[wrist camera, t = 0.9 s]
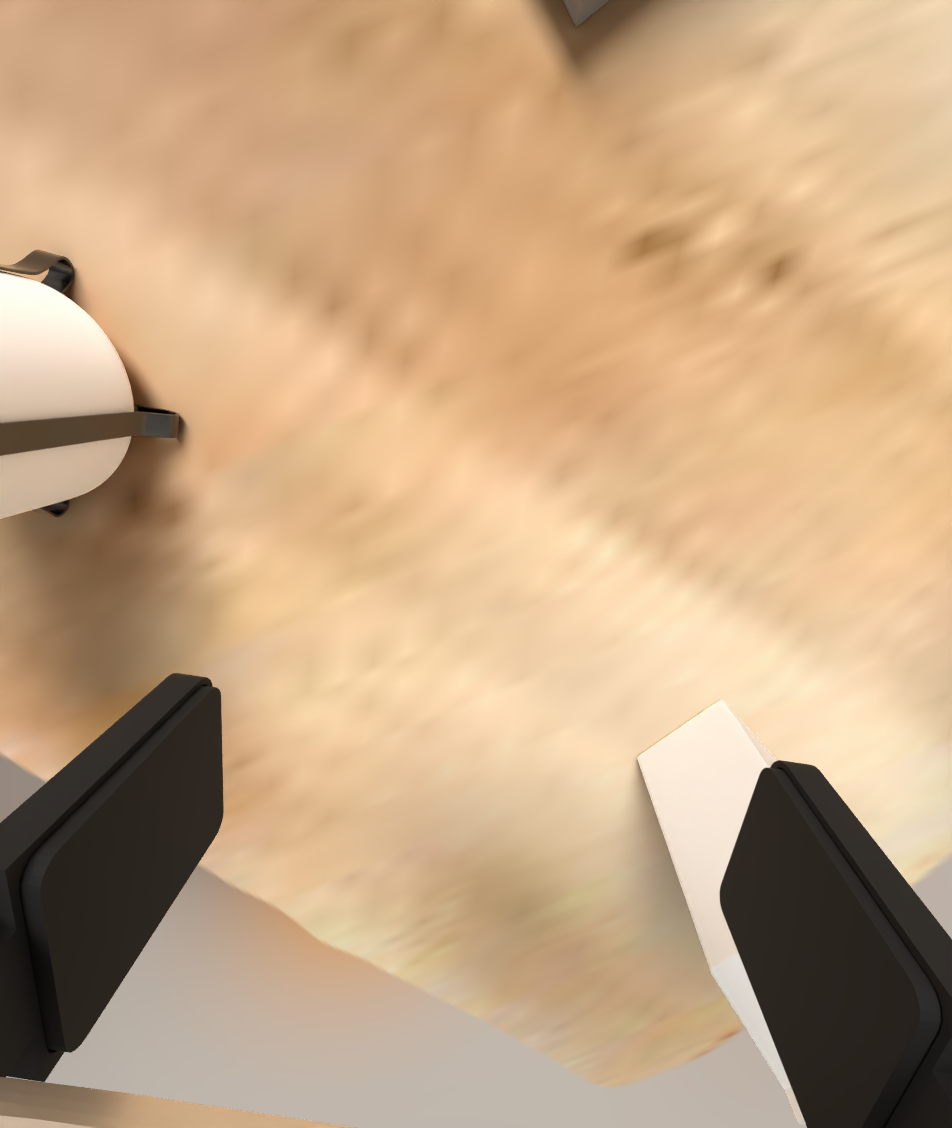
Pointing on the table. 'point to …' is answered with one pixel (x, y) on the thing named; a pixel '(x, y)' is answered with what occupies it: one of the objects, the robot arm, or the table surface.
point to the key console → (582, 9)
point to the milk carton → (712, 842)
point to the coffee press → (60, 394)
